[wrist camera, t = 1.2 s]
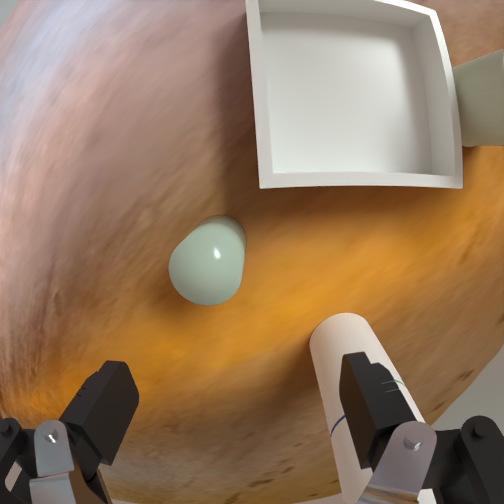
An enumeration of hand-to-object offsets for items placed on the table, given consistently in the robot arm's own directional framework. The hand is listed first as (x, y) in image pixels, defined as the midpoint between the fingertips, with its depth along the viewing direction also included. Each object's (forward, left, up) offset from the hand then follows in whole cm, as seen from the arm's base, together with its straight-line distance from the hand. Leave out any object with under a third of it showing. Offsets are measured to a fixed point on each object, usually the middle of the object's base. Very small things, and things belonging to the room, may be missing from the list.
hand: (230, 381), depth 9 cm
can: (-15, +24, -18) cm, 34 cm away
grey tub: (-15, +10, -18) cm, 25 cm away
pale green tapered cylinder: (-1, -3, -18) cm, 18 cm away
